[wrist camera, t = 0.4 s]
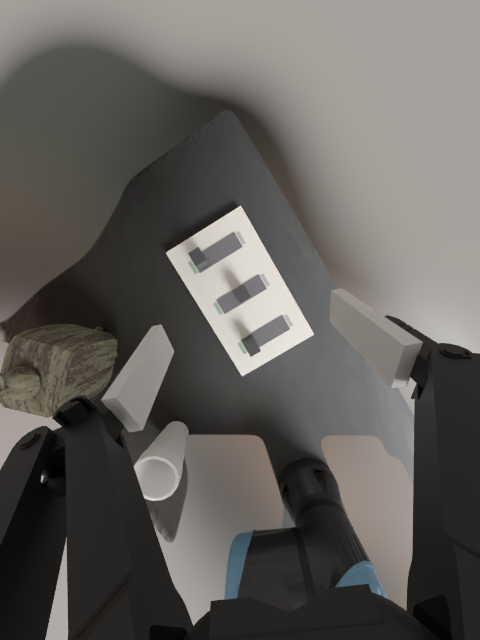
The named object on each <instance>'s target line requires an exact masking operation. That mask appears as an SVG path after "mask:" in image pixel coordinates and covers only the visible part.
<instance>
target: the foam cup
mask: <svg viewBox="0 0 480 640" xmlns="http://www.w3.org/2000/svg"><path fill="white" fill-rule="evenodd" d="M188 433H189V431H188V428H187V426H186V425H185V424H184V423H182V422H180V421H173V422H171V423H169V424H168V425H167V426H166V427H165V428H164V430H163V431H162V432H161V433H160V434H159V436H158V437H157V438H156V439H155V440H154V442H153V443H152V444H151V445H150V446H149V448H148V449H147V450H146V451H145V452H143V453H142V455H141V456H140V458H139V459H138V461H137V462H136V464H135V465H134V469H135V472H136V475H137V478H138V481H139V484H140V487H141V490H142V493H143V496H144V498H145V499H148V500H151V501H156V500H163V499H165V498H167V497H169V496H171V495H172V494H173V493H174V491H175V490H176V489H177V487H178V484H179V481H180V478H181V475H182V468H183V466H182V465H183V460H184V455H185V450H186V445H187V440H188Z"/></svg>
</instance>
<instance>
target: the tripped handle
mask: <svg viewBox="0 0 480 640" xmlns="http://www.w3.org/2000/svg"><path fill="white" fill-rule="evenodd" d="M233 292H234V293H235V295H236V297H237V298H238V300H239V302H240V303H241V302H243V301H244V300H246V299H248V298H249V297H251V296H250V294H249V293H248V291H247V289H246V288H245V286H244V284H242V285H241V286H239V287H238V288H236V289H234V290H233Z"/></svg>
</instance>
